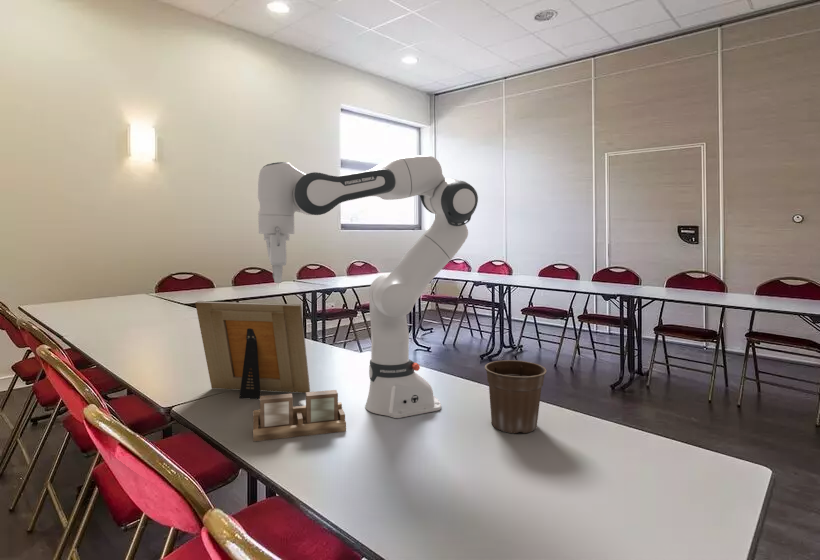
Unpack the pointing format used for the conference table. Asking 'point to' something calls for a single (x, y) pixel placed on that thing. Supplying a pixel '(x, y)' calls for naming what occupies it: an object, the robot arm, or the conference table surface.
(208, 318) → the picture frame
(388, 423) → the conference table surface
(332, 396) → the frame
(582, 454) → the conference table surface
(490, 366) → the plant pot
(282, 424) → the walnut frame
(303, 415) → the oak rail
